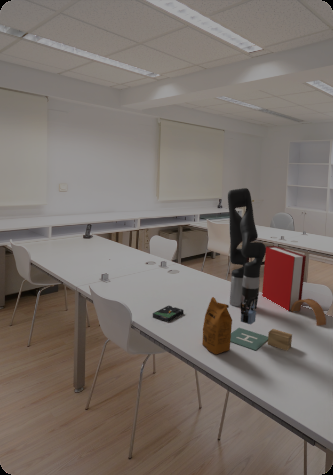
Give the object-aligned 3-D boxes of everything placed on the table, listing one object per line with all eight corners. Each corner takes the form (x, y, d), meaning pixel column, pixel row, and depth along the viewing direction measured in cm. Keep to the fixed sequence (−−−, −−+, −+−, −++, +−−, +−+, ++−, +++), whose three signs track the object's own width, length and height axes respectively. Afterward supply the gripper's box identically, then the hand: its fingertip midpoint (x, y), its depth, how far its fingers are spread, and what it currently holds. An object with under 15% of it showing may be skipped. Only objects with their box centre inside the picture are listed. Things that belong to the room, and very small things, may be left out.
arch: (298, 310, 203) (300, 293, 201) (325, 324, 185) (328, 306, 183) (290, 311, 201) (292, 294, 199) (317, 326, 183) (319, 307, 181)
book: (300, 310, 204) (306, 255, 198) (288, 311, 201) (294, 256, 195) (271, 294, 229) (275, 245, 223) (260, 295, 226) (264, 246, 220)
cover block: (271, 340, 165) (272, 328, 164) (291, 346, 160) (292, 334, 159) (267, 344, 161) (268, 332, 160) (287, 350, 156) (288, 338, 155)
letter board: (239, 328, 177) (239, 327, 177) (269, 338, 167) (269, 337, 167) (223, 339, 165) (223, 338, 164) (255, 350, 155) (255, 349, 155)
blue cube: (245, 318, 168) (246, 308, 167) (255, 321, 165) (256, 311, 164) (240, 321, 164) (241, 311, 163) (250, 324, 161) (251, 314, 160)
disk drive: (168, 309, 199) (152, 317, 187) (168, 305, 199) (152, 312, 187) (183, 314, 194) (168, 323, 182) (183, 309, 193) (168, 317, 181)
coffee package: (217, 339, 164) (220, 294, 160) (233, 352, 153) (236, 303, 149) (198, 343, 160) (201, 297, 156) (213, 356, 149) (216, 307, 145)
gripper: (249, 280, 169) (247, 313, 172) (236, 287, 158) (233, 323, 161) (264, 283, 165) (261, 318, 168) (251, 291, 153) (248, 327, 156)
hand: (248, 320), depth 164 cm, fingers closed on blue cube, 5 cm apart
